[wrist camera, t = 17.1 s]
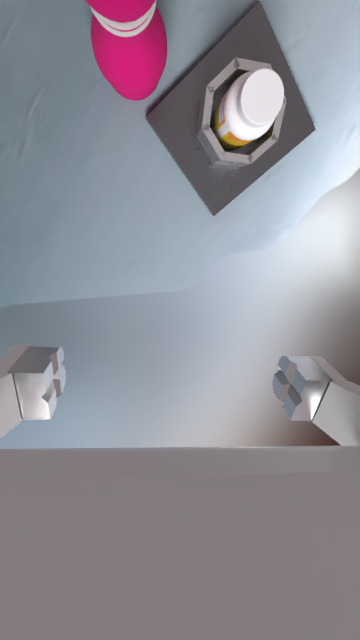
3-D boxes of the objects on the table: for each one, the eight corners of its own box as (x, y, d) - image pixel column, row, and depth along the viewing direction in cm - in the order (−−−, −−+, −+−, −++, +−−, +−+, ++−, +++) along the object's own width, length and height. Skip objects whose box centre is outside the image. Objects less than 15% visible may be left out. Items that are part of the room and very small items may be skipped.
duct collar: (212, 215, 37) (220, 218, 32) (145, 119, 31) (144, 107, 27) (311, 131, 34) (335, 121, 29) (256, 7, 28) (275, -29, 24)
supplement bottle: (261, 131, 32) (301, 108, 24) (224, 159, 33) (250, 147, 24) (241, 84, 30) (277, 39, 21) (202, 115, 31) (222, 85, 22)
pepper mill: (99, 13, 27) (-3, -335, 9) (168, 28, 28) (195, -260, 10) (100, 100, 30) (25, -36, 12) (162, 111, 31) (175, -1, 13)
